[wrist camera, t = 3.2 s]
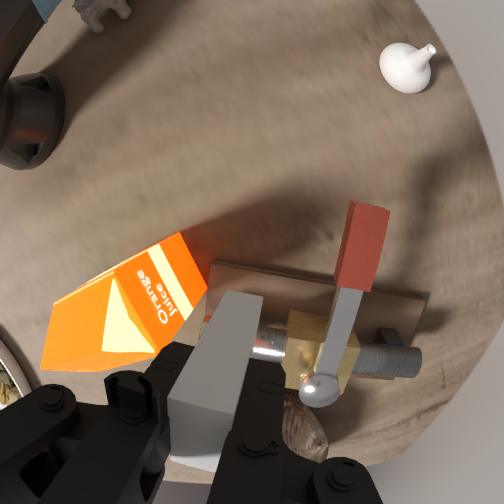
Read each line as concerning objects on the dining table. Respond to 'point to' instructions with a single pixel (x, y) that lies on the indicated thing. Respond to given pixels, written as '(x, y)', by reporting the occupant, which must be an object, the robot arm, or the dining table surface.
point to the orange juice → (125, 311)
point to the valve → (354, 357)
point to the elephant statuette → (93, 3)
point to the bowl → (11, 378)
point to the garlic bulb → (406, 66)
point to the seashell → (303, 430)
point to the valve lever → (345, 299)
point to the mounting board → (313, 301)
